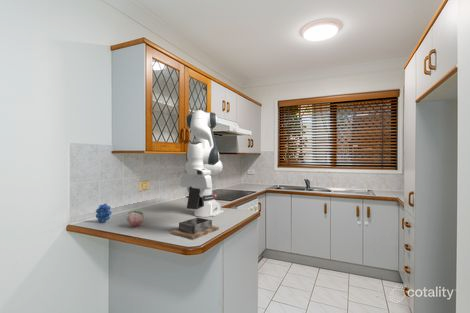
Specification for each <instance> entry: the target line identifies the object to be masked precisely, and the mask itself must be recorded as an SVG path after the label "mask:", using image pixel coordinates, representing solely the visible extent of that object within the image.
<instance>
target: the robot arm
mask: <svg viewBox="0 0 470 313" xmlns="http://www.w3.org/2000/svg"><path fill="white" fill-rule="evenodd" d="M185 124H186V126H187V128H188V129H190V132H191V133H192V135H193V136H194V137H195V138H196V139H195V140H194V141H190V142H189V143H188V144H187V151H186V153H185V155H186V156H185V158H186V159H185V160H186V163H185V170H184V171H182V172H181V173H182V174H181V178H180V186H181V187H182V188H186V191H187V192H188V194H189V187H190V186H191V187H192V188H197V189H200V191H201V192H200V194H199V197H203V202H204V206H203V207H201V208H199V209H194V213H193V214H194V216H195V217H198V218H202V217H203V218H204V217H205V218H206V217H208V218H209V217H217V216H219V215H221V214H222V213H224V211H225V210H223V209H221V204H220V202H218V201H217V200H216V199H215V198H216V197H217V194H214V193H213V183H212V182H213V180H212V176H211V175H219V174H221V173H222V171H223V162H222V161H221V160H220V153H219V150H218V146H217V142H216V138H215V134H214V131H213V129H214V128H215V127H216V126H217V124H218V116H217V114H216V113H215V112H211V111H210V112H205V111H204V110H200V109H199V110H198V109H197V110H195V111H194V112H192V113H189V114H187V116H186V119H185Z"/></svg>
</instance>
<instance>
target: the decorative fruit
mask: <svg viewBox="0 0 470 313" xmlns="http://www.w3.org/2000/svg"><path fill="white" fill-rule="evenodd" d="M144 219H145V215H144V213H143V212H142V211H141V210H136V209H135V210H132V211H129V212H128V213H127V217H126V220H127V222H128V224H129V225H131V226H132V227H134V228H135V227H137V226H140V225H141V224H142V223H143V222H144Z"/></svg>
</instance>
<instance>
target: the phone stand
mask: <svg viewBox="0 0 470 313" xmlns="http://www.w3.org/2000/svg"><path fill="white" fill-rule="evenodd" d="M200 192H201V191H200V189H197V188H192V187H191V186H190V187H189V193H188V196H187V197H188V198H187V203H186V209H187V210H188V209H189V210H195V209H199V208H201V207H203V206H204V202H203V197H199V194H200Z"/></svg>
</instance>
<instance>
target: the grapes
mask: <svg viewBox="0 0 470 313" xmlns="http://www.w3.org/2000/svg"><path fill="white" fill-rule="evenodd" d="M95 213H96V214H95V218H96V219H97V222H100V223H101V222H102V223H103V222H105V223H106V222H107V221H109V220H110V219H111V215H112V211H111V206H110V205H108V204H107V203H103V204H100V205H99V206H98V208H96V209H95Z"/></svg>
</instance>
